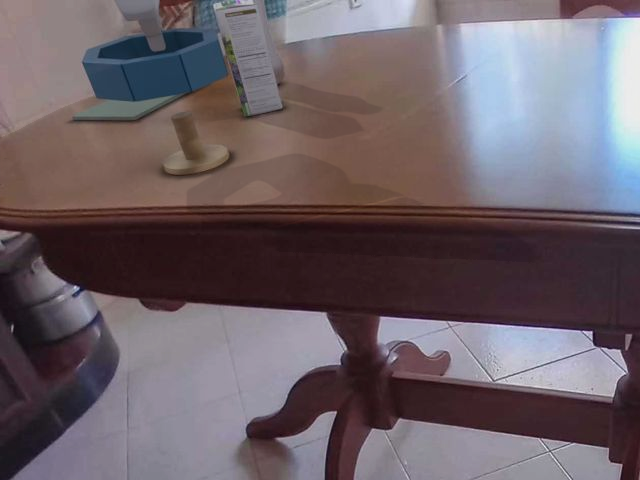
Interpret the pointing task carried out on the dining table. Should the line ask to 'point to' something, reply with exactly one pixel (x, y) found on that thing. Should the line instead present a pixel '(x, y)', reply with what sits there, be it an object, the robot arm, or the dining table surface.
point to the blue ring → (155, 65)
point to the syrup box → (248, 56)
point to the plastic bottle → (270, 43)
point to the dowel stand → (192, 149)
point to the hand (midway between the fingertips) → (159, 47)
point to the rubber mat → (123, 109)
